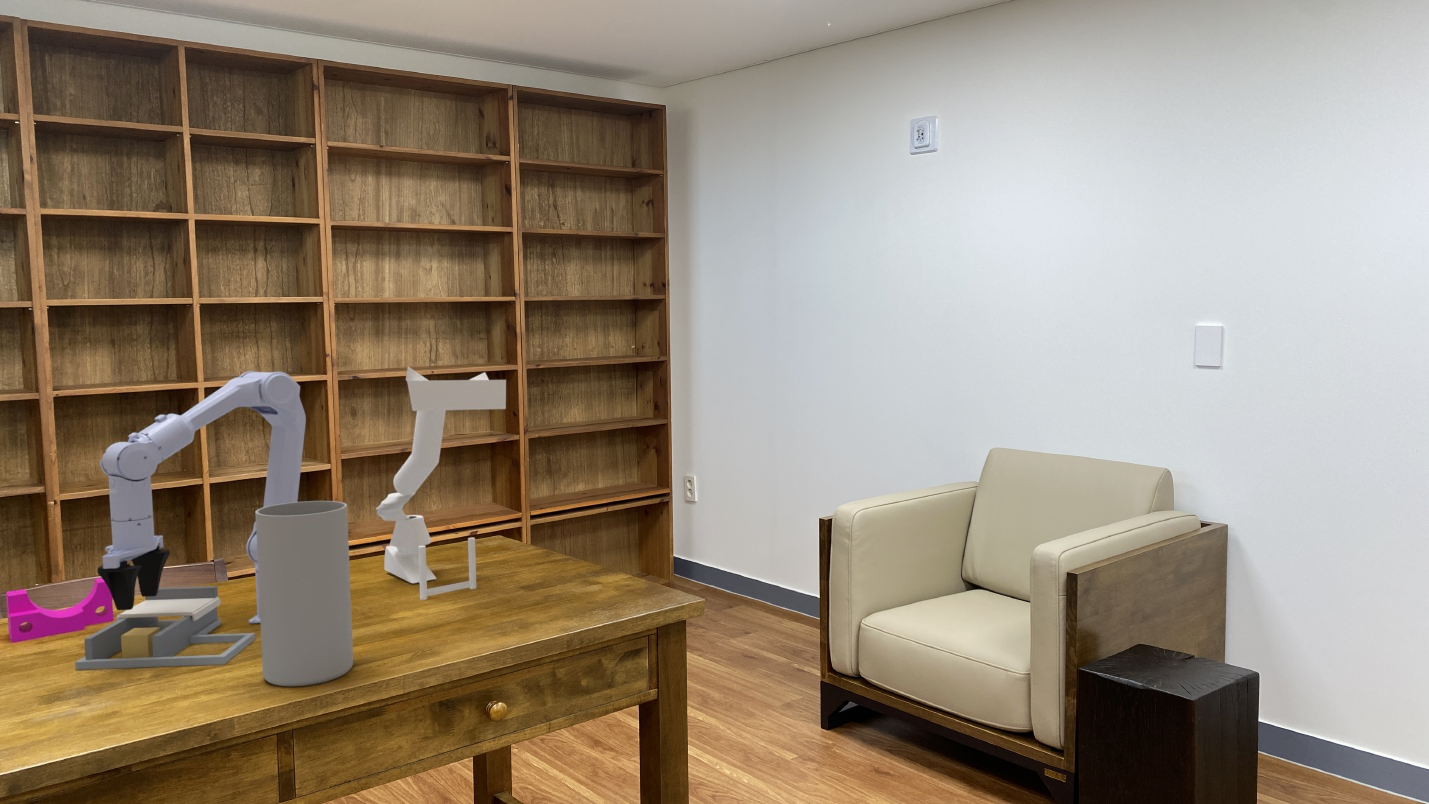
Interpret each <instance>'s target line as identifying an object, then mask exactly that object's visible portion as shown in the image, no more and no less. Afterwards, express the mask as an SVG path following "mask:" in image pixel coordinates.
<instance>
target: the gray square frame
mask: <svg viewBox="0 0 1429 804" xmlns="http://www.w3.org/2000/svg"><path fill="white" fill-rule="evenodd" d="M221 622H222V621H221V618H218V606H217V607H216V608H214V609H213V610H211V611H210V612H208V613H207V614H205V615H204V616H202V617H200V618H199V619H197V620H196V621H193V618H192V616H182V617H181V618H179V619H163V620H162V619H161V620H159V617H136V618H121V619H119V620H118V621H117V620H116V621H115V622H112V623H111V624H109V625H107V626H104V627H103V628H101V629H99V630H98V631H96V632H93V633H92V634H90V635H88V636H87V637H84V640H83V641H84V653H85V654H84V655H85V656H83V657H82V658H79V659H78V660H77V661H74V667H75V671H78V670H79V671H80V670H84V671H85V670H104V669H105V670H106V669H107V670H108V669H133V668H134V669H137V668H157V667H158V668H161V667H162V668H163V667H186V666H187V667H189V666H190V667H192V666H193V667H194V666H213V665H214V666H216V665H218V666H219V665H226V664H227V663H228V662H230V661H231V660H232V659H233V658H235V657H236V656H237V655H238V654H240V652H242V651H243V650H245V648H246V647H248V646H249V645H250V644H252V643H253V642H254V641H255V640H256V633H255V632H250V633H249V632H247V633H245V632H242V633H216V634H215V633H214V634H213V633H211V634H209V633H210V632H212V631H214V629H216V628H218V627H219V626H221ZM153 627H160V632H158V633H157V634H155V635H154V636H152V642H153V657H148V658H122V657H121V658H110V657H112V656H114V655H115V654H117V653H119V652H121V651H122V646H121V635H123V634H125V633H127V632H128V631H130V630H132V629H134V628H153ZM221 643H222V644H223V643H234V644H232V645H231V646H230V647H229V648H227V649H226V650H225V651H224V652H222V653H221V654H209V655H205V654H204V655H203V654H202V655H180V656H179V655H178V656H176V654H178V653H179V652H182V650H184V649H185V648H187V647H188V646H190V645H200V644H221Z"/></svg>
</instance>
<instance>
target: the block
mask: <svg viewBox="0 0 1429 804" xmlns="http://www.w3.org/2000/svg"><path fill="white" fill-rule="evenodd" d="M158 632H160V627H153V628H134V629H132V630H130V631H128V632H127V633H125V634H123V635H121V646H122V650H121V658H148V657H153V642H152V636H154V635H155V634H157V633H158Z"/></svg>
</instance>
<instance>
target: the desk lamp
mask: <svg viewBox="0 0 1429 804" xmlns="http://www.w3.org/2000/svg"><path fill="white" fill-rule="evenodd" d="M405 381H406V383H407V388H408V394H409V397H410V398H409V399H410V405H411V410H412V411H413V412H416V417H415V424H414V425H415V426H414V430H413V431H414V433H413V441H412V448H411V449H412V450H411V453H410V455H409V456H408V458H407V459H406V461H405V462H404V464H402V465H401V467H400V468H399V469H398V471H397V473H396V474H395V475H394V477H393V487H394V490H395V492H393V493H389V494H387V497H386V498H385V499H384V500H382V501H381V502H380V504H379V505H378V506H377V507H376V508H375V510H376V515H377V516H379V517H381V518H382V519H381V520H383V521H384V522H385V521H386V522H394V521H395V525H394V528H393V531H392V536H391V539H390V543H389V545H388V546H385V552H384V565H383V566H384V567H383V570H385V571H386V572H389V573H390V574H392V575H394V576H396V577H399V578H400V579H403V581H406V582H408V583H411V584H417V583H419V599H420V601H424V600H428V596H434V595H438V594H443V593H449V592H454V591H458V590H464V589H469V590H475V589H477V565H476V563H477V562H476V538H475V537H468V538H467V543H468V544H467V545H468V546H467V547H468V548H467V549H468V551H467V553H468V580H467V581H461V582H456V583H452V584H447V585H440V586H436V587H431V588H428V581H432V580H436V579H437V577H436V576H435V574H434V573H433V572H432V570H431V568H429V566H428V564H427V552H426V551H427V549H426V548H427V547H426V545H429V544H431V543H432V539H431V537H430V534H429V531H428V528H427V525H426V523H425V519H424V516H423V515H420V514H409V515H408V514H405V512H404V511H403V508H404V506H405V504H406V503H408V502H409V501H410V499H411V498H412V497H413V496H415V495H416V492H417V491H418V490H419V488H420V487H421V486H422V484H423V483H424V482H425V481H426V479H427V478H428V477H429V476H430V474H432V472H433V471H434V469H435V468H436V467H437V466H438V464H439V462H440V455H441V450H442V449H441V447H442V440H443V434H444V425H445V420H446V419H445V418H446V413H447V412H446V411H470V410H471V411H472V410H473V411H474V410H475V411H476V410H478V411H479V410H481V411H482V410H506V408H507V406H506V405H507V404H506V403H507V379H489V377H488V375H487V373H486V372H485V371H484V372H481V373H480V374H478V375H476V376H474V377H471V378H470V379H460V380H459V379H454V380H450V379H449V380H447V379H446V380H441V379H440V380H438V379H435V380H432V379H431V380H429V379H428V378H426V377H424V375H422V374H421V373H418V372H417V371H415V370H414V369H413V368H411V367H410V366H407V369H406V376H405Z"/></svg>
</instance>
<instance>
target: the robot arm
mask: <svg viewBox="0 0 1429 804" xmlns="http://www.w3.org/2000/svg"><path fill="white" fill-rule="evenodd" d="M300 392H301V385H299V383H297V382H296V381H295V380H294V379H293V377H292V376H290V375H289V374H288V373H286V372H283V371H272V372H268V371H267V372H265V371H263V372H262V371H260V372H259V371H255V370H254V371H251V370H249V371H245V372H244V373H242V374H241V375H239V376H237V377H234V378H232V379H230V380H229V381H228V382H227V383H225V385H222V387H220V388H219V389H217V390H216V391H215V392H212V393H211V394H210V395H208V396H207V397H206V398H204V399H203V400H202V401H199V402H198V403H197V404H195V405H194V406H192V407H191V408H189V410H187V411H185V412H184V413H183V414H180V415H179V414H177V413H176V414H175V413H168V414H159V415H157V416H156V417H155V418H154V420H155V421H154V423H152V424H151V425H149V426H147V427H145V428H144V429H142V430H140V431H139V432H132V433H131V434H129V435H128V436H127V437H128V441H118V442H115V443H113V444H111V445H110V446H109V445H108V447H107V449H106V450H105V453H103V455H102V459H101V460H100V461H99V467H100V469H101V471H102V472H103V473H104V474H105V475H106V476H107V478H108V489H109V490H108V493H109V508H110V522H111V540H112V544H111V545H108V546H106V547H105V548H104V549H105V550H104V551H105V552H107V553H106V554H105V555H102V565H100V566H98V567H97V574H98V575H99V576H100V578H102V579H103V580H104V581H105V583H106V585H107V586H108V588H109V590H110V593H111V595H112V602H114V603H113V604H114V607H115V609H116V610H117V611H126V610H131V609H133V607H134V606H135V594H136V593H135V592H136V591H135V590H136V589H135V588H136V584H137V583H136V582H138V587H139V592H140V596H141V597H144V598H145V597H147V596H156V595H157V593H158V588H160V584H161V577H162V573H163V570H164V568H165V565H166V562H167V561H168V559H169V558H170V555H171V554H170V553H171V552H170V549H167V548H165V549H162V548H164V536H163V535H155V525H154V522H155V521H154V511H153V510H154V509H153V507H154V506H153V493H152V479H151V477H152V475H154V474H155V472H156V470H157V469H158V465H159V464H161V463H162V462H164V461H165V460H166V459H169V458H170V457H171V456H173V455H174V454H176V453H177V452H179V451H181V450H182V449H184V448H185V447H186V446H188V445H190V444H191V443H193V442H194V441H193V440H194V438H195V434H196V433H195V432H197V431H198V430H200V429H202V428H204V427H205V426H207V425H208V424H210V423H212V422H213V421H215V420H217V419H219V418H221V417H223V416H224V415H226V414H228V413H229V412H231V411H233V410H235V409H237V408H249V409H251V410H253V411H256V412H257V413H259V414H260V416H262V417H263V419H265V420H266V421H267V422H268V423H269V424H270V426H271V432H270V433H271V434H270V445H269V450H268V451H269V452H268V459H267V461H268V463H267V468H266V469H267V471H266V480H265V489H264V496H263V497H264V499H263V506H262V508H264V507H267V506H272V505H278V504H284V503H293V502H298V499H299V489H300V478H301V470H302V468H301V467H302V461H303V451H304V442H305V441H304V440H305V431H306V422H307V421H306V419H307V416H306V413H305V409H304V406H303V404H302V401H301V398H300ZM245 546H246V547H245V548H246V554H247V556H248V558H249V559H250V560H251V561H252V562H253V564H254V568H255V569H254V571H255V591H256V592H255V593H256V613H257V614H255V615H254V616H253V617H252V618H250V619H249V620H248V624H261V623H260V601H259V580H258V558H257V537H256V520H255V521H254V523H253V529H252V532H251V535H249V538H248V539H247V542H246V545H245ZM129 561H131V562H132V565H130V564H131V563H128V562H129Z"/></svg>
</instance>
